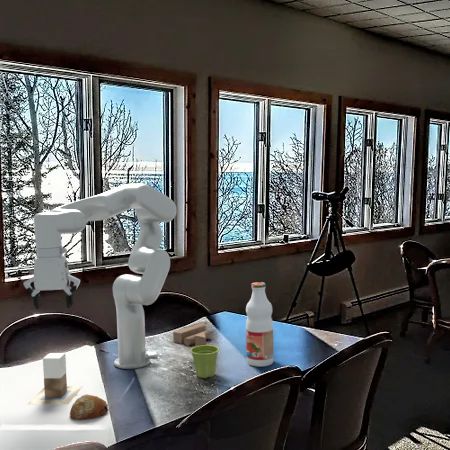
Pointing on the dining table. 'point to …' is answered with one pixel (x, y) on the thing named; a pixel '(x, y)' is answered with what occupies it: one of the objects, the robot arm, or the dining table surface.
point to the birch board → (64, 400)
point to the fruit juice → (259, 328)
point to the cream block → (54, 365)
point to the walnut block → (55, 387)
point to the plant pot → (205, 360)
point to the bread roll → (88, 408)
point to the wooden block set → (192, 335)
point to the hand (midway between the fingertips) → (54, 307)
